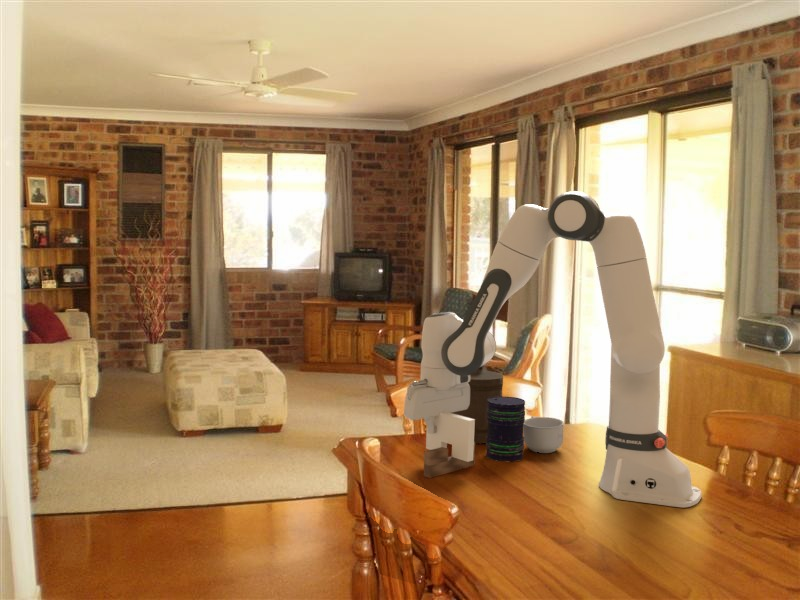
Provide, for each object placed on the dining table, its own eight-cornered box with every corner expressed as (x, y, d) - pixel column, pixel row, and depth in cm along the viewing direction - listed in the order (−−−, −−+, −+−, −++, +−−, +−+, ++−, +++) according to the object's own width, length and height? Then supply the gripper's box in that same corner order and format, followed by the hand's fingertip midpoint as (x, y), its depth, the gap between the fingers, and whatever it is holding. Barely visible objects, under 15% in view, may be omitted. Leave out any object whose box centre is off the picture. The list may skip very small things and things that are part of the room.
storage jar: (528, 454, 216) (530, 399, 215) (516, 464, 208) (518, 406, 206) (493, 449, 221) (495, 394, 219) (479, 458, 212) (481, 401, 211)
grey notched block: (468, 463, 207) (469, 440, 207) (474, 465, 206) (475, 441, 205) (423, 476, 196) (424, 451, 196) (429, 478, 195) (430, 453, 194)
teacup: (566, 456, 216) (567, 426, 215) (524, 455, 216) (525, 425, 215) (556, 442, 229) (557, 414, 229) (518, 441, 230) (519, 413, 229)
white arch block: (473, 460, 197) (474, 419, 196) (467, 461, 195) (469, 420, 194) (431, 447, 207) (432, 408, 206) (425, 448, 205) (427, 409, 204)
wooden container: (497, 431, 241) (499, 356, 239) (505, 444, 226) (507, 365, 224) (446, 430, 240) (448, 356, 238) (451, 444, 225) (453, 365, 223)
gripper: (417, 384, 193) (415, 441, 194) (475, 374, 207) (473, 428, 208) (398, 380, 197) (397, 436, 199) (456, 370, 211) (455, 423, 213)
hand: (436, 432), depth 204 cm, fingers closed on white arch block, 2 cm apart
